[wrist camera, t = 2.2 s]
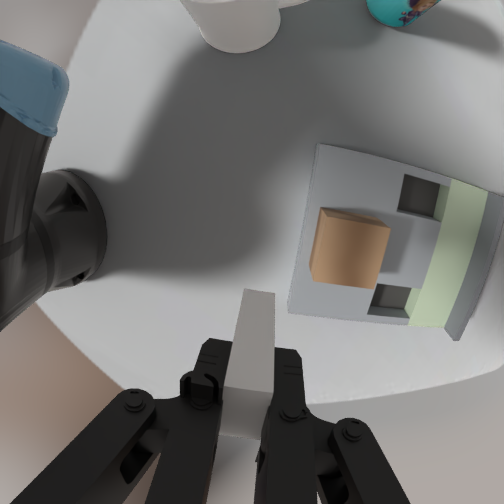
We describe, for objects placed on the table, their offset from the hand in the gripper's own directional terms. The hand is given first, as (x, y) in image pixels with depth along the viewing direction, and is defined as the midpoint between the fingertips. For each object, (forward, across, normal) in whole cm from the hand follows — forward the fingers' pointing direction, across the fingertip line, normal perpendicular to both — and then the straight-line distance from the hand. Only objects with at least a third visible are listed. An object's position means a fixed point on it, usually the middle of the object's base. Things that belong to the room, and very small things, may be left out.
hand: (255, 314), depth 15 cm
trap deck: (+18, +15, 0) cm, 23 cm away
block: (+16, +8, 0) cm, 17 cm away
